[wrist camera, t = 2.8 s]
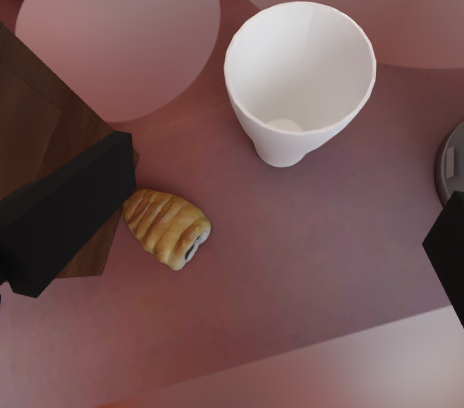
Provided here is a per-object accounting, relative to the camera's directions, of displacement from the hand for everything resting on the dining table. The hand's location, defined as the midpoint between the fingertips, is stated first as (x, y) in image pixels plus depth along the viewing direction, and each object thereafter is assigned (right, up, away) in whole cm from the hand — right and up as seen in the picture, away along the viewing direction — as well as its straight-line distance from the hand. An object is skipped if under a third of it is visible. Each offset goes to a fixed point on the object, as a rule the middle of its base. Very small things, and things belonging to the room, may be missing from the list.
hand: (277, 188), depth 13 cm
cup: (+4, +6, +22) cm, 23 cm away
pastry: (-9, -3, +20) cm, 22 cm away
